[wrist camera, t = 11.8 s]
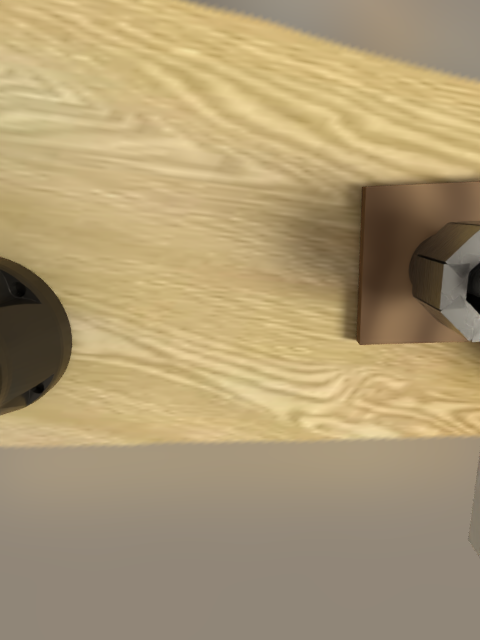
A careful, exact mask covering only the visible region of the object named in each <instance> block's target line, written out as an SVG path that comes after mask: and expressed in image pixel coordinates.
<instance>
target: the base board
mask: <svg viewBox="0 0 480 640" xmlns="http://www.w3.org/2000/svg"><path fill="white" fill-rule="evenodd" d="M463 221H480V181H478V182H456V183H434V184H412V185H390V186H368V187H362V211H361V237H360V263H359V289H358V315H357V342H358V343H359V344H360V345H369V344H402V343H434V342H467V341H468V340H467V339H465V338H464V337H462V336H460V335H459V334H457V333H456V332H454V331H452V330H451V329H449V328H448V327H446V326H444V325H443V324H441V323H440V322H438V321H437V320H436V319H435V318H434V317H433V316H432V315H431V314H430V313H429V312H428V311H427V310H426V309H425V308H424V307H423V306H422V305H421V304H420V303H419V302H418V301H417V300H416V299H415V298H414V297H413V294H412V286H413V285H412V283H411V281H410V278H409V263H410V260H411V257H412V255H413V253H414V251H415V250H416V248H417V247H418V246H419V245H420V244H421V243H422V242H423V241H424V240H426V239H427V238H429V237H430V236H432V235H435V234H436V233H437V232H438V231H439V230H440V229H441V228H442V227H444V226H445V225H446V224H447V223H450V222H463Z"/></svg>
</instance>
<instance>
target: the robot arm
mask: <svg viewBox="0 0 480 640" xmlns="http://www.w3.org/2000/svg"><path fill="white" fill-rule="evenodd" d="M71 349H72V335H71V328H70V324H69V320H68V317H67V315H66V312H65V310H64V308H63V306H62V304H61V302H60V301H59V299H58V298H57V296H56V295H55V293H54V292H53V291H52V290H51V288H50V287H49V286H48V285H47V284H46V283H45V282H44V281H43V280H42V279H41V278H39V277H38V276H37V275H36V274H34V273H33V272H32V271H30V270H28V269H27V268H25V267H23V266H21V265H20V264H17V263H15V262H13V261H10V260H7V259H4V258H0V415H3V414H6V413H10V412H13V411H16V410H19V409H22V408H24V407H26V406H28V405H30V404H32V403H34V402H36V401H37V400H38V399H40V398H41V397H42V396H43V395H45V394H46V393H47V392H48V391H49V390H50V389H51V388H52V387H53V386H54V385H55V384H56V383H57V382H58V381H59V380H60V378H61V377H62V375H63V374H64V372H65V370H66V368H67V366H68V363H69V360H70V356H71ZM468 541H469V542H470V543H471V545H472V547H473V548H474V550H475V551H476V553H477V554H478V556H479V557H480V454H479V462H478V469H477V477H476V484H475V492H474V499H473V506H472V514H471V521H470V528H469V536H468Z"/></svg>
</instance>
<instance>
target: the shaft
mask: <svg viewBox="0 0 480 640" xmlns="http://www.w3.org/2000/svg"><path fill="white" fill-rule="evenodd" d="M433 236H434V235H432V236H430V237H429V238H427V239H426V240H424V241H423V242H422V243H421V244H420V245H419V246H418V247H417V248H416V250H415V251H414V253H413V255H412V257H411V260H410V263H409V278H410V281H411V283H412V285H413V272H414V259H415V255H417V254H416V252H417V251H419V250H420V249H421V248H422V247H423V246H424V245H425V244H426V243H427V242H428V241H429V240H430V239H431V238H432V237H433ZM477 297H480V263H479V264H477V265H476V266H475V267H474V268H473V269H472V270H471V271H470V272H469V276H468V285H467V294H466V301H474V300H475V299H476V298H477Z"/></svg>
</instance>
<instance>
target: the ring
mask: <svg viewBox="0 0 480 640" xmlns="http://www.w3.org/2000/svg"><path fill="white" fill-rule="evenodd" d="M416 254H417V255H415V259H414V272H413V286H412V294H413V297H414V298H415V299H416V300H417V301H418V302H419V303H420V304H421V305H422V306H423V307H424V308H425V309H426V310H427V311H428V312H429V313H430V314H431V315H432V316H433V317H434V318H435V319H436V320H437V321H438V322H440V323H441V324H443V325H444V326H446V327H448V328H449V329H451V330H452V331H454V332H456V333H457V334H459V335H460V336H462V337H464V338H465V339H467V340H468V341H471V342H480V297H477V298H476V299H475V300H474V301H466V294H467V285H468V276H469V272H470V271H471V270H472V269H473V268H474V267H475V266H476V265H477V264H479V263H480V221H463V222H450V223H447V224H446V225H445V226H444V227H442V228H441V229H440V230H439V231H438V232H437V233H436V234H435V235H434V236H433V237H432V238H431V239H430V240H429V241H428V242H427V243H426V244H425V245H424V246H423V247H422V248H421V249H420V250H419V251H417V252H416Z"/></svg>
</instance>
